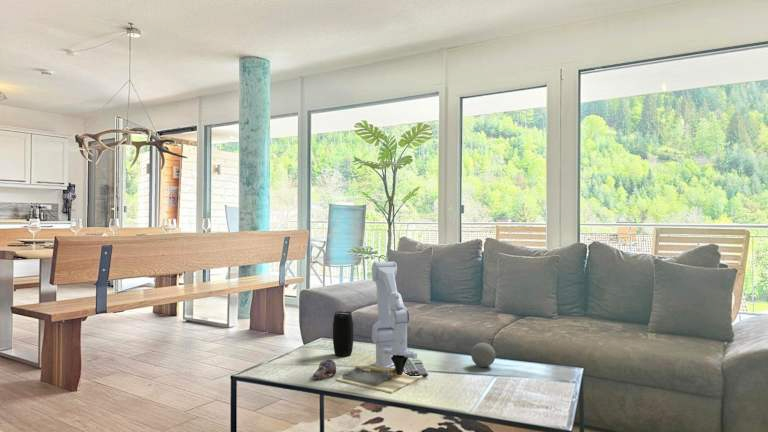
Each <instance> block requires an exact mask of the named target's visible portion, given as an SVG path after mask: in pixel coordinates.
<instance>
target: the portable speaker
mask: <svg viewBox="0 0 768 432" xmlns="http://www.w3.org/2000/svg"><path fill="white" fill-rule="evenodd" d="M352 315H353V314H352V311H348V310H347V311H341V310H339V311H335V312H334V314H333V320H332V321H333V322H332V342H333V343H332V345H333V352H334V356H335V357H338V356H343V357H346V358H347V357H350V356H352V353H353V349H354V348H353V347H354V321H353V316H352Z"/></svg>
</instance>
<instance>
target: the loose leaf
mask: <svg viewBox="0 0 768 432" xmlns="http://www.w3.org/2000/svg"><path fill="white" fill-rule="evenodd" d="M366 371H371V372H376V373H381V374H382V372H384V371H385V372H390V373H391V376H392V378H393V377H395V376H397V372H396V368H395V367H394V368H393V367H384V366H374V367H371V368H370V369H368V370H366Z"/></svg>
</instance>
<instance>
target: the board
mask: <svg viewBox="0 0 768 432" xmlns="http://www.w3.org/2000/svg"><path fill="white" fill-rule="evenodd" d="M371 367H375V366H373V365H367V366H365V367H364V370H368V369H370V368H371ZM404 372H405V371H403V374H402V375H397V376H395V377H393V378H391V379H390V380H387V381H385V382H383V383H381V384H379V385H377V386H375V385H370V384H366V383H361V382H357V381H352V380H348V379H343V378H342V376H340V377H338V378H336V379H335V381H337V382H342V383H345V384H349V385H353V386H359V387H363V388H366V389H372V390H377V391H381V392H385V393H389V394H393V393H396V392H397V391H399V390H402V389H403V388H405V387H408V386H410V385H411V384H413V383H416V382H417V381H420V380H421V379H423V378H424V376H423V375H420V376H409V375H407V374H405V373H406V372H405V373H404Z"/></svg>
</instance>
